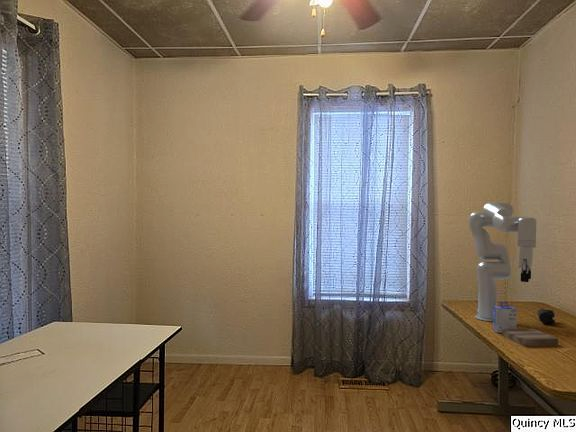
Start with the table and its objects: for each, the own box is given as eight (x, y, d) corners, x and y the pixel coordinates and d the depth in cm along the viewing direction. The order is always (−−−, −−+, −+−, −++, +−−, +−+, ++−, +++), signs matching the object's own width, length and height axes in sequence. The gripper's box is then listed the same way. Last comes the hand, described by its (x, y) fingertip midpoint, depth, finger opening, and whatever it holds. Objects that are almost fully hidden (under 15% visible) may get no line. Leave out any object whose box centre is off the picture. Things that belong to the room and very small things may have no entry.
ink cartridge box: (513, 331, 209) (514, 302, 209) (517, 334, 204) (517, 304, 203) (492, 329, 211) (492, 301, 211) (495, 332, 206) (495, 303, 205)
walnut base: (502, 335, 201) (502, 329, 201) (533, 334, 202) (533, 328, 202) (524, 346, 185) (524, 339, 185) (558, 345, 186) (558, 338, 186)
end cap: (537, 319, 231) (537, 307, 231) (552, 321, 228) (552, 309, 228) (538, 324, 222) (539, 311, 222) (554, 325, 219) (554, 313, 219)
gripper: (519, 242, 205) (519, 276, 206) (515, 244, 191) (514, 282, 192) (537, 243, 201) (536, 278, 202) (534, 245, 187) (533, 284, 187)
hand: (525, 280), depth 197 cm, fingers open, 9 cm apart
